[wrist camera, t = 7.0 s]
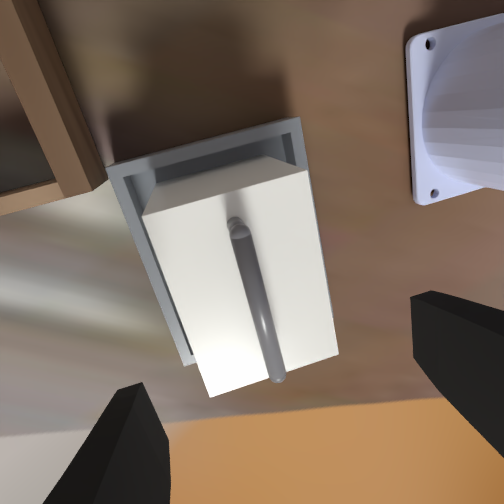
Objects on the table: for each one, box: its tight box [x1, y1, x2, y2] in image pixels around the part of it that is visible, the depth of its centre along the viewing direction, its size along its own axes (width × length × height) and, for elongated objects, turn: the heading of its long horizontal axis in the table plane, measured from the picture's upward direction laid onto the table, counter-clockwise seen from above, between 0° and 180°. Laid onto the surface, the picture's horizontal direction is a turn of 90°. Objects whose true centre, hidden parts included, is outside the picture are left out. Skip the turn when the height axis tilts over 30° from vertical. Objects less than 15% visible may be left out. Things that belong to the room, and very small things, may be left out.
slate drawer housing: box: [105, 117, 334, 366], centre depth 16 cm, size 8×10×2 cm
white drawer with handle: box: [142, 154, 339, 397], centre depth 13 cm, size 5×7×7 cm
